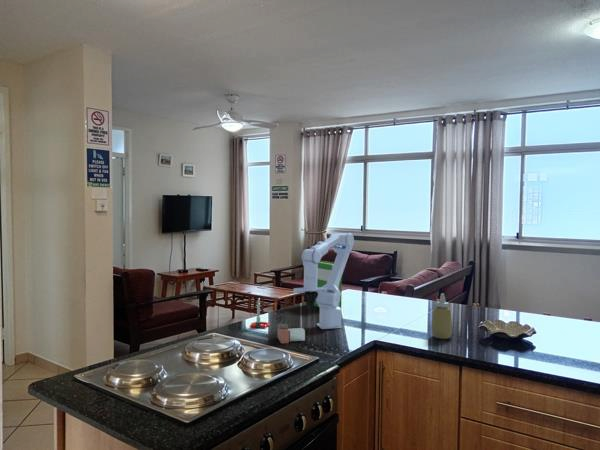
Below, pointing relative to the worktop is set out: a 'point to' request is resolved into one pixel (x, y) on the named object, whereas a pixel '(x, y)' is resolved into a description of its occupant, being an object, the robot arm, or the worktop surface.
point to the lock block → (297, 334)
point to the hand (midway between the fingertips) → (309, 309)
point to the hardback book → (326, 277)
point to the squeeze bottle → (442, 319)
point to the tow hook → (258, 323)
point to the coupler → (283, 333)
